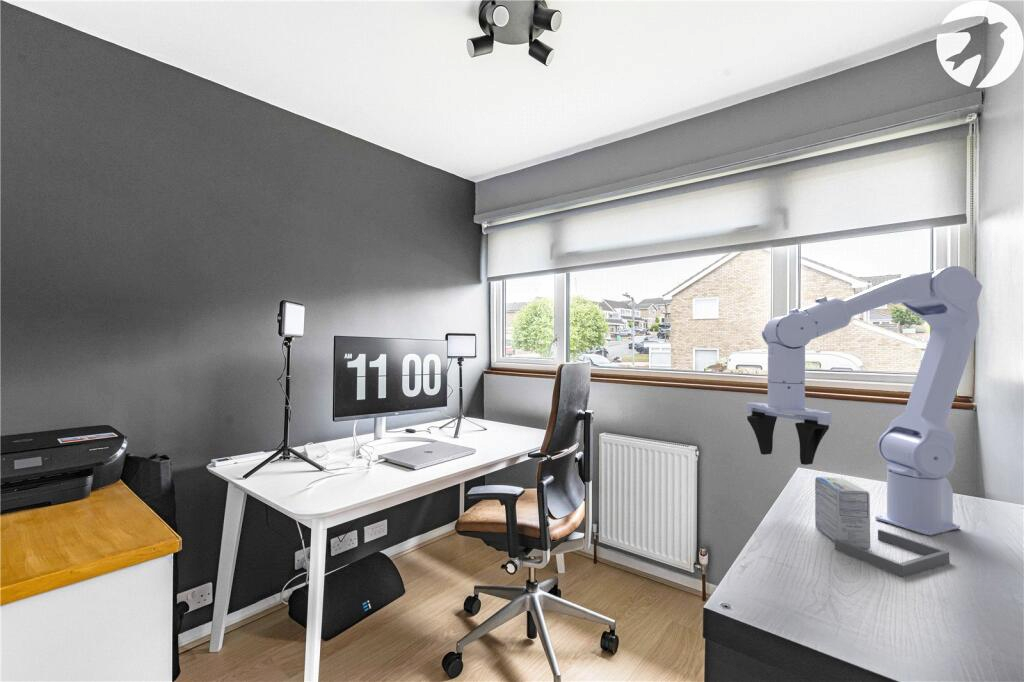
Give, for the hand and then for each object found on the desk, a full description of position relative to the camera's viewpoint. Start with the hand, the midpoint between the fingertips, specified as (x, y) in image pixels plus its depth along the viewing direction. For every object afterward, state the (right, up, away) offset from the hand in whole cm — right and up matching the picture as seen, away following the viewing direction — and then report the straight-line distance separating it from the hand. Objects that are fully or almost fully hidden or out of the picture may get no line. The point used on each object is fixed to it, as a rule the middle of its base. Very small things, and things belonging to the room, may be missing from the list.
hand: (785, 458), depth 81 cm
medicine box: (+4, -11, -9) cm, 14 cm away
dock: (+6, -10, -14) cm, 19 cm away
